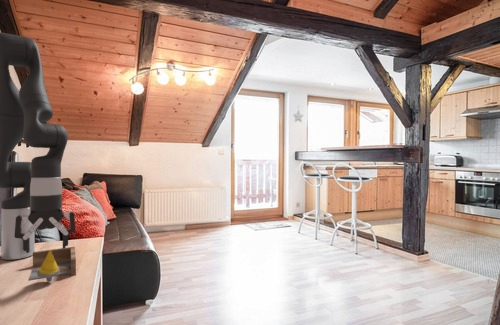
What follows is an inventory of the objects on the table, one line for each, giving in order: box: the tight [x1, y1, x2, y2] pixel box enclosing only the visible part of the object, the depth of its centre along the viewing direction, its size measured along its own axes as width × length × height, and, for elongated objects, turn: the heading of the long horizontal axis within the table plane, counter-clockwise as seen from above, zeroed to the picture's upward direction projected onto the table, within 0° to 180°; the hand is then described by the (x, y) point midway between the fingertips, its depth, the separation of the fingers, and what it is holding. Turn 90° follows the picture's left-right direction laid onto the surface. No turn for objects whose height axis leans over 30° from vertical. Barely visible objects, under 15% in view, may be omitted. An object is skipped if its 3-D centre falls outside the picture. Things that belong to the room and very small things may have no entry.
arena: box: [28, 246, 77, 281], centre depth 95 cm, size 15×12×5 cm
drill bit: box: [37, 249, 60, 283], centre depth 86 cm, size 5×5×10 cm
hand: (46, 250), depth 86 cm, fingers open, 8 cm apart
